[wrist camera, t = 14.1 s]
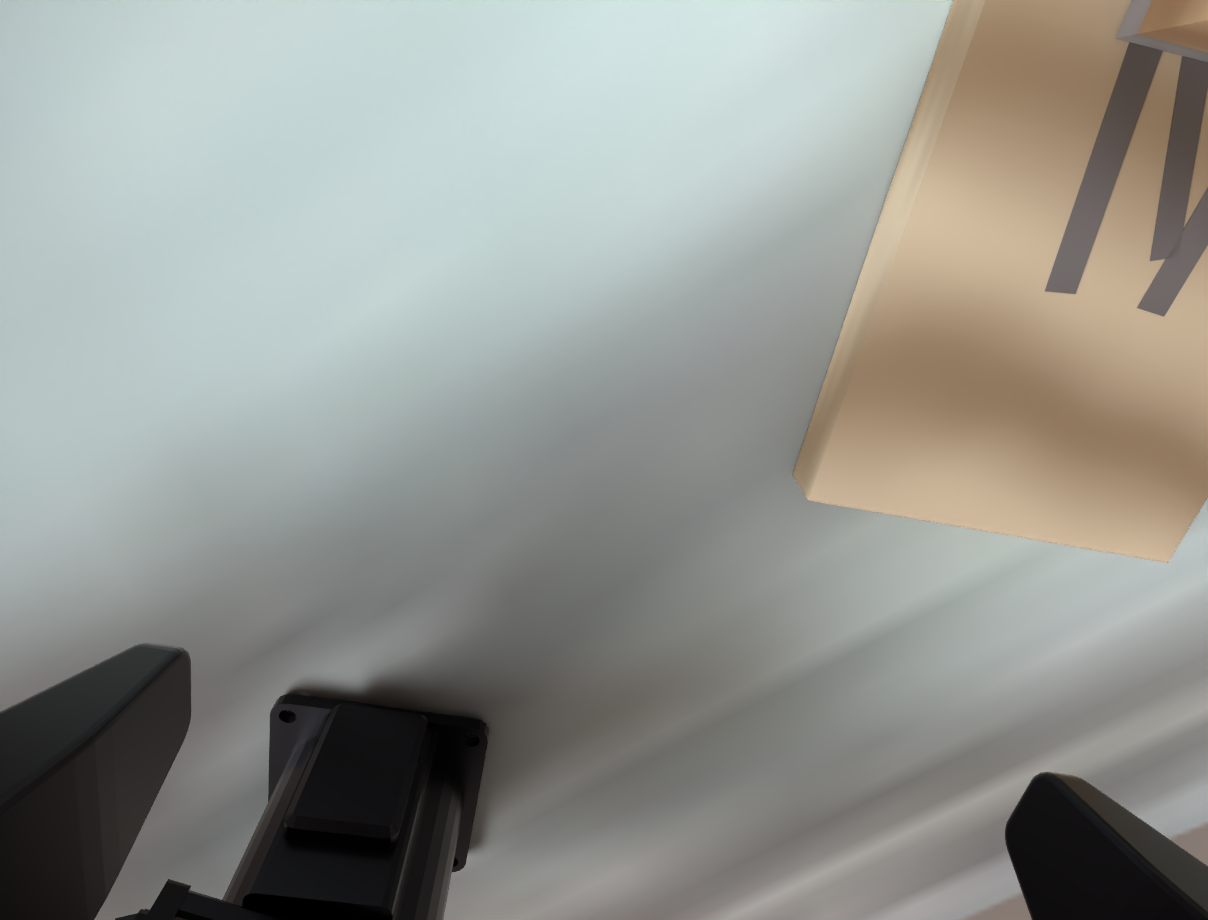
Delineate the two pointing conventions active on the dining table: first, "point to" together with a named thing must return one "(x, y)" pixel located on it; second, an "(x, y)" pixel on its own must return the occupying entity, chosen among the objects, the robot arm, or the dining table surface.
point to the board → (1033, 294)
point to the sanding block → (1168, 26)
